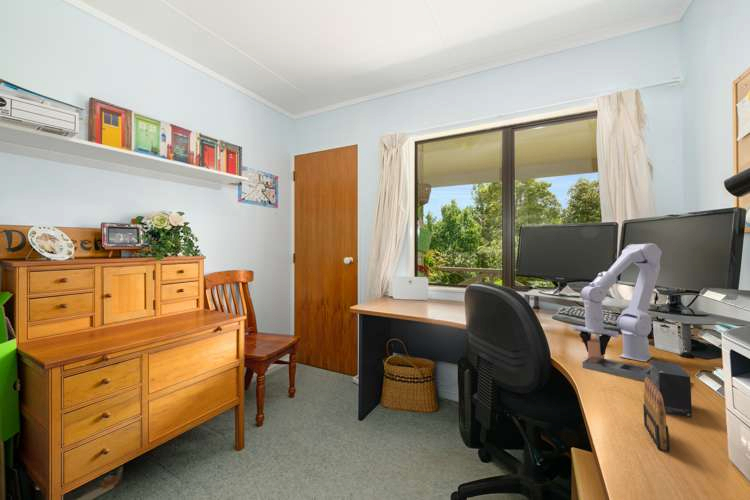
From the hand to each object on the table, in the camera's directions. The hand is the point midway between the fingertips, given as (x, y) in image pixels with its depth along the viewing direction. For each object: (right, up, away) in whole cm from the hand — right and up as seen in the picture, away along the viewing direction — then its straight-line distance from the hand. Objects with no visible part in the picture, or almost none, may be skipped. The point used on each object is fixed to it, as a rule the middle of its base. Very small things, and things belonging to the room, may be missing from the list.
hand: (596, 352), depth 120 cm
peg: (0, -2, 0) cm, 2 cm away
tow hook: (+14, -3, +21) cm, 26 cm away
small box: (-7, -2, -38) cm, 38 cm away
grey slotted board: (+1, -2, -16) cm, 16 cm away
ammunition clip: (-22, -2, -50) cm, 55 cm away
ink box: (+34, -1, +6) cm, 34 cm away
